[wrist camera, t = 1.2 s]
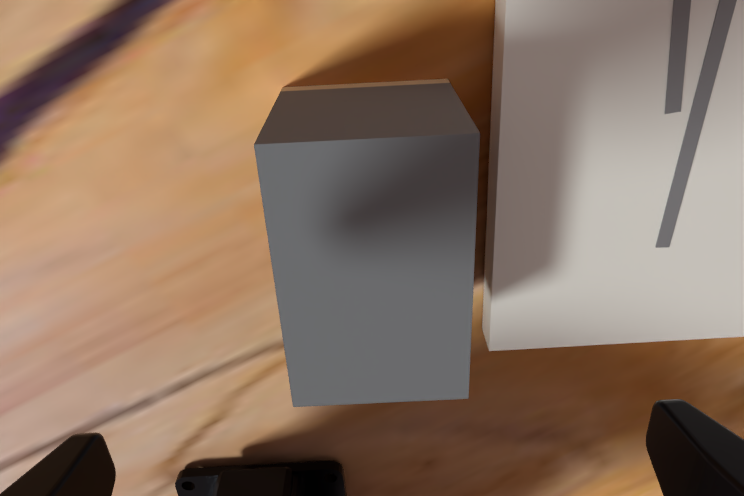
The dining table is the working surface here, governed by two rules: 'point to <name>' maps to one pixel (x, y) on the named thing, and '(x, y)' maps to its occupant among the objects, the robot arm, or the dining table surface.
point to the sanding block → (372, 239)
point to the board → (615, 173)
